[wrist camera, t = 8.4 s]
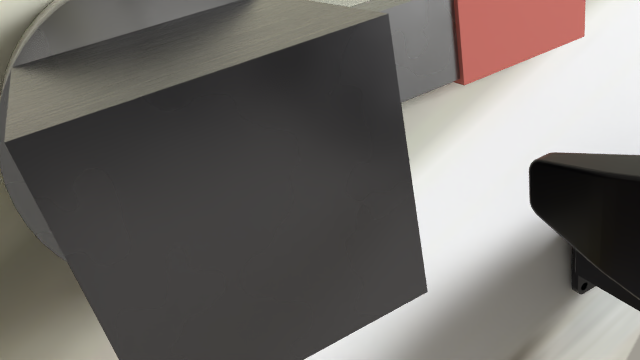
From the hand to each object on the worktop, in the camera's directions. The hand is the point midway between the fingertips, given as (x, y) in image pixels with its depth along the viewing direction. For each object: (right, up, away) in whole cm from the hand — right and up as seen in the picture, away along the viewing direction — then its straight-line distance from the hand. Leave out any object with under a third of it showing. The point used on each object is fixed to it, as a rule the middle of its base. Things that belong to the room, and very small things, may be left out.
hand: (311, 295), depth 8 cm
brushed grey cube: (-3, +3, +7) cm, 8 cm away
